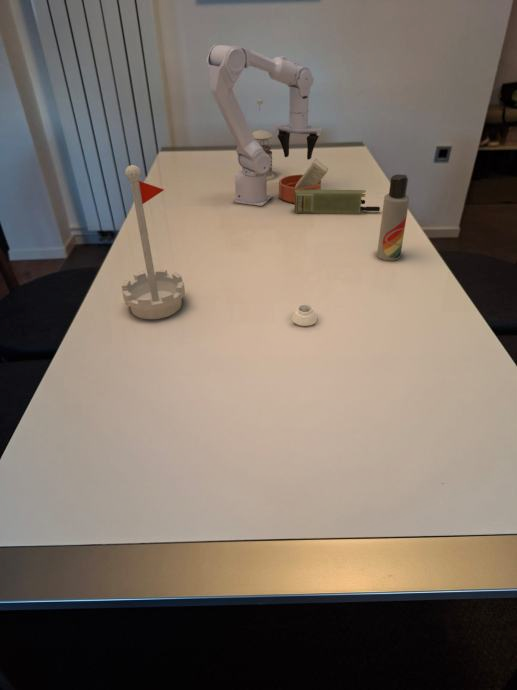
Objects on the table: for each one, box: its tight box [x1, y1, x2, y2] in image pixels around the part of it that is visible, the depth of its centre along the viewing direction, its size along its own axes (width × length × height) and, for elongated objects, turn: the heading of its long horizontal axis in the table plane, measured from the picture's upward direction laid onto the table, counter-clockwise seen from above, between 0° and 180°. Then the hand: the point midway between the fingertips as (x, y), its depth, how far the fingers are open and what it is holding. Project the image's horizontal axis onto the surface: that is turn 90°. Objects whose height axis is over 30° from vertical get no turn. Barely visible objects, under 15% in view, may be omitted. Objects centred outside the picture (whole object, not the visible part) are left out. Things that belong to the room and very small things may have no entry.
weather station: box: [252, 98, 276, 181], centre depth 170 cm, size 10×12×25 cm
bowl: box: [278, 174, 322, 204], centre depth 157 cm, size 13×13×5 cm
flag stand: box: [121, 164, 186, 320], centre depth 99 cm, size 13×13×30 cm
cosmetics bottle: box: [295, 158, 329, 188], centre depth 155 cm, size 5×4×10 cm
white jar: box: [291, 304, 318, 327], centre depth 101 cm, size 5×3×5 cm
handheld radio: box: [294, 189, 381, 215], centre depth 146 cm, size 7×3×25 cm
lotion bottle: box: [376, 174, 410, 262], centre depth 118 cm, size 6×6×20 cm
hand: (297, 157), depth 158 cm, fingers open, 7 cm apart
